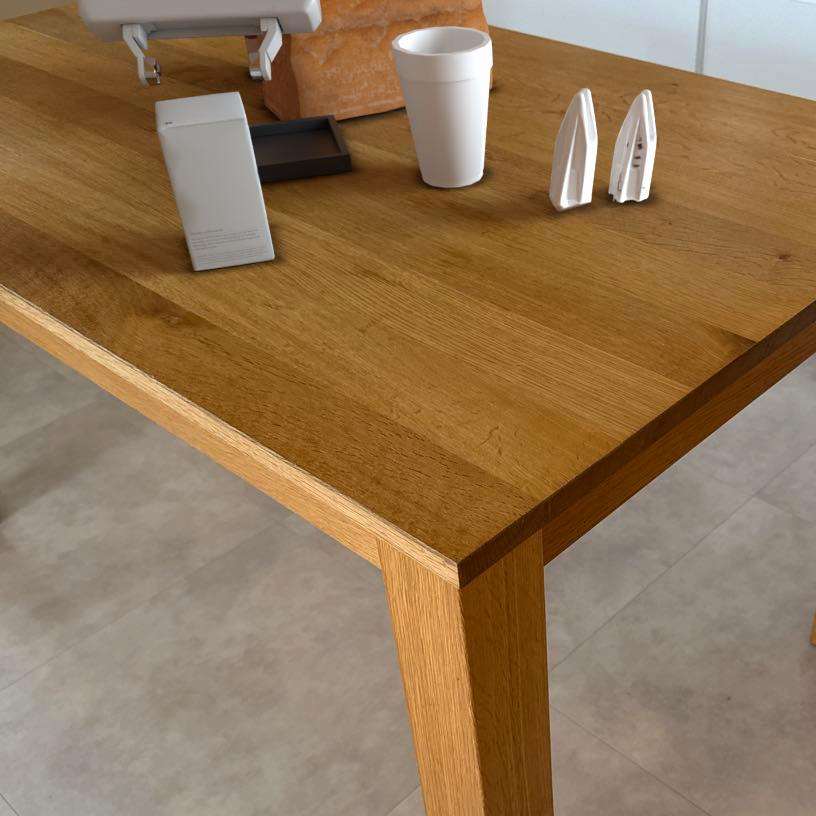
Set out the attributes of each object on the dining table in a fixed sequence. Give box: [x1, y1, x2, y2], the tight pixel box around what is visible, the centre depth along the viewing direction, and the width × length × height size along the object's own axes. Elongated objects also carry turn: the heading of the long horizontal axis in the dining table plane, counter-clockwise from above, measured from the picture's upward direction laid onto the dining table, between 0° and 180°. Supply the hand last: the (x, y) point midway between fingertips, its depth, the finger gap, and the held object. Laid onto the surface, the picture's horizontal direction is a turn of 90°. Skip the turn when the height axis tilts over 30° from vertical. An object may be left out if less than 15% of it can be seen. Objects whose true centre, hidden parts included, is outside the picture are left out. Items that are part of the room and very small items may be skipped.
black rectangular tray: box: [248, 115, 353, 184], centre depth 108 cm, size 13×13×2 cm
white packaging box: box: [154, 91, 275, 272], centre depth 88 cm, size 7×7×13 cm
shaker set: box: [548, 87, 657, 212], centre depth 94 cm, size 12×4×11 cm, turn 119°
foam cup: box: [392, 26, 494, 189], centre depth 100 cm, size 10×9×13 cm
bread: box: [257, 0, 494, 122], centre depth 118 cm, size 14×27×15 cm, turn 119°
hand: (205, 80), depth 87 cm, fingers open, 8 cm apart
